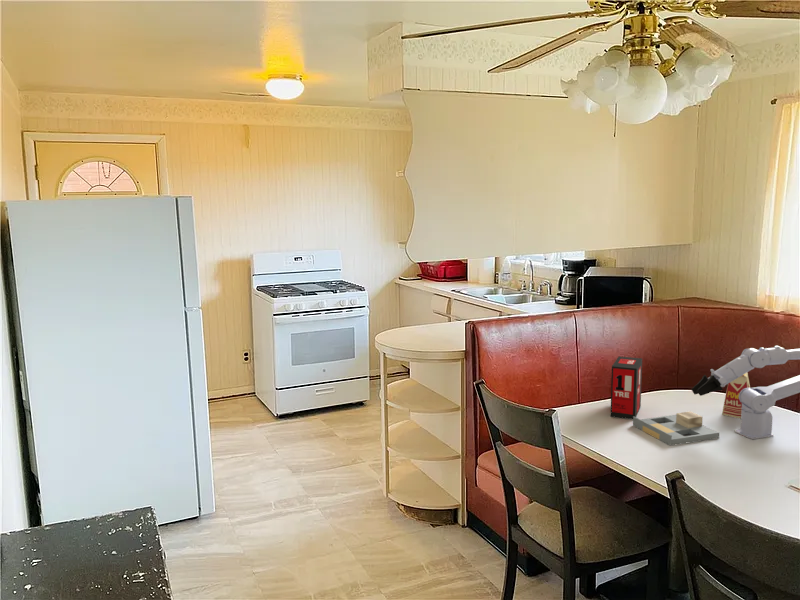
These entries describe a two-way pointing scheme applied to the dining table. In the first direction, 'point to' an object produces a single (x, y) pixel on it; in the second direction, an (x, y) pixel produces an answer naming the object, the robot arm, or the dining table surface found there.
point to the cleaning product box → (626, 387)
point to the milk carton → (735, 396)
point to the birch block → (689, 419)
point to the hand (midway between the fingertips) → (695, 392)
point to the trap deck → (673, 430)
